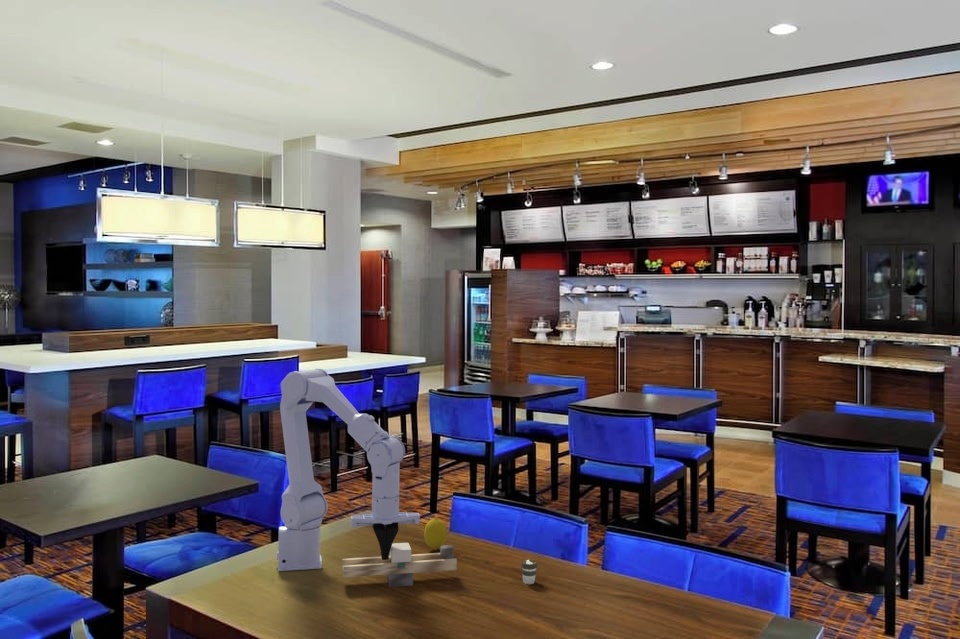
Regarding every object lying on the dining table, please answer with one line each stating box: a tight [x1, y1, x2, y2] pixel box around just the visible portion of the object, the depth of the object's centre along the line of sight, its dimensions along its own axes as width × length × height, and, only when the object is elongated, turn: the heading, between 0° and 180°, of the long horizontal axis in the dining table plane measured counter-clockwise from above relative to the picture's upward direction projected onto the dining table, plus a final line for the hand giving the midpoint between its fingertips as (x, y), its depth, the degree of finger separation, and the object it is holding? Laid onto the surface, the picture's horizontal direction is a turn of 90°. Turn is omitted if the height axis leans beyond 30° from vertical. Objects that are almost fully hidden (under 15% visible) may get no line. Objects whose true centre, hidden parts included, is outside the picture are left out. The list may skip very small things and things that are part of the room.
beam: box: [341, 544, 458, 588], centre depth 160 cm, size 24×6×7 cm, turn 103°
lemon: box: [423, 516, 448, 551], centre depth 180 cm, size 6×6×8 cm
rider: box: [389, 542, 412, 563], centre depth 160 cm, size 4×5×4 cm
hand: (384, 558), depth 159 cm, fingers closed
